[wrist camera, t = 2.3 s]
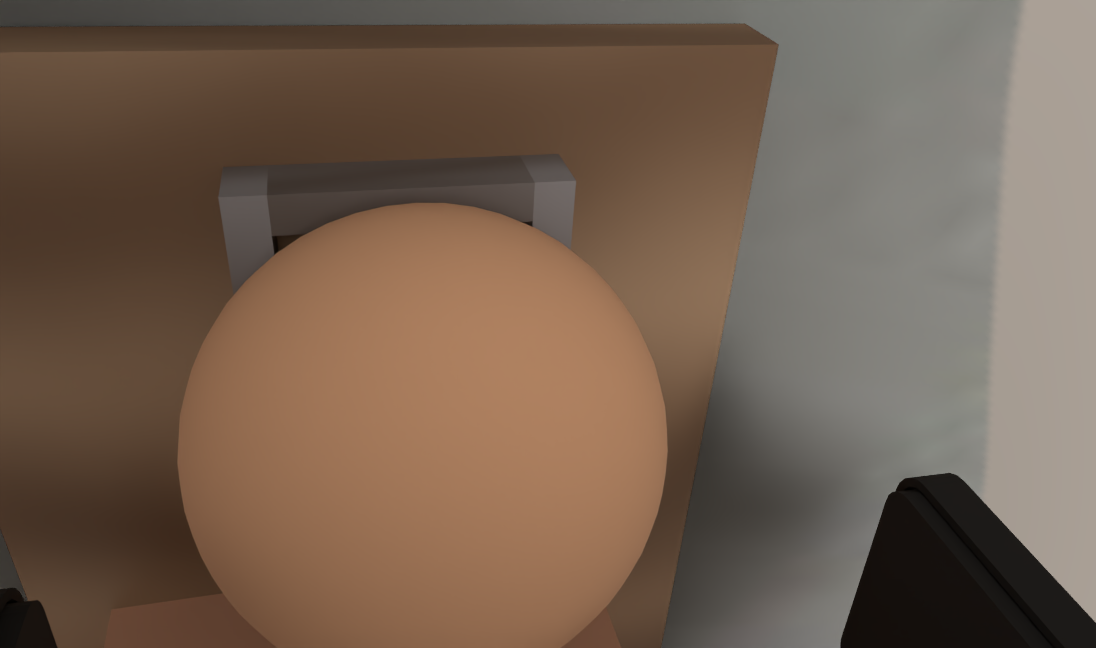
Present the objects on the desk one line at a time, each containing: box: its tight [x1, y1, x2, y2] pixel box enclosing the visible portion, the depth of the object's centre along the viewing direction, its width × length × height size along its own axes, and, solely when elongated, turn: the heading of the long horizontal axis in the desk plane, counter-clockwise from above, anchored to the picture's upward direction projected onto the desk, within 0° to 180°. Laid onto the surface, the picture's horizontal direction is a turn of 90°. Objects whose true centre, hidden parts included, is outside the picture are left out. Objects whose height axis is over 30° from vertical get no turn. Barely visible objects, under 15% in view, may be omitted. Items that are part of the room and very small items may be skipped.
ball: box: [177, 203, 668, 648], centre depth 11 cm, size 6×6×6 cm
